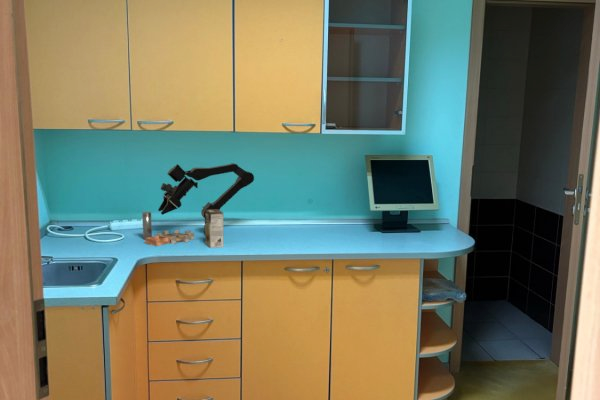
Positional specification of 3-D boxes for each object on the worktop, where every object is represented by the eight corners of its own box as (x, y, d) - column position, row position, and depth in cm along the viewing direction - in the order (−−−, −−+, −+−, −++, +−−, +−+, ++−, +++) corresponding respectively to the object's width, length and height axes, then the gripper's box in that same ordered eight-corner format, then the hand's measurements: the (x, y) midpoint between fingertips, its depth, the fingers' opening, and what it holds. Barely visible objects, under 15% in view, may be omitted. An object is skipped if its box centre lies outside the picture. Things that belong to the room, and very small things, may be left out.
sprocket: (178, 233, 291) (178, 228, 291) (201, 238, 280) (201, 232, 280) (139, 241, 273) (139, 235, 273) (161, 247, 263) (161, 241, 262)
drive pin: (153, 238, 281) (152, 211, 279) (149, 240, 277) (148, 213, 275) (145, 238, 282) (144, 211, 280) (141, 239, 278) (140, 212, 276)
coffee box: (204, 243, 270) (204, 209, 268) (218, 242, 273) (217, 208, 271) (210, 248, 262) (209, 212, 260) (224, 246, 265) (223, 211, 262)
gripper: (167, 175, 287) (145, 198, 285) (173, 179, 270) (150, 204, 268) (183, 190, 292) (161, 213, 289) (191, 195, 274) (167, 220, 272)
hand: (160, 212), depth 280 cm, fingers open, 9 cm apart
